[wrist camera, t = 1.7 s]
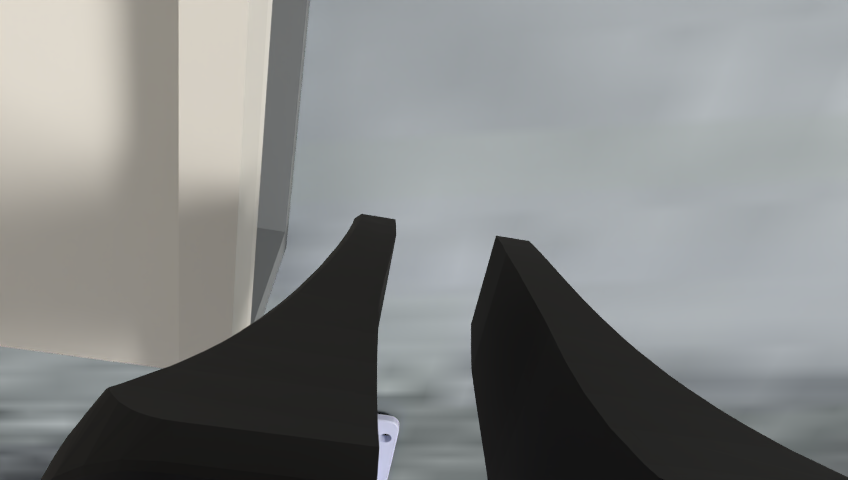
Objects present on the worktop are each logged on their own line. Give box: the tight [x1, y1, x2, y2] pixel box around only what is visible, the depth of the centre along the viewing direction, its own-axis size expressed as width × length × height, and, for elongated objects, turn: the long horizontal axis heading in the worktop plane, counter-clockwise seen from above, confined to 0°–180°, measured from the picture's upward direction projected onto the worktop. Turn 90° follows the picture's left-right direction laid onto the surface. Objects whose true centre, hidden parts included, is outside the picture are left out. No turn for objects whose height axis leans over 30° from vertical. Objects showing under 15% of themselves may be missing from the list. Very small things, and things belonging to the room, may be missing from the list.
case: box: [250, 0, 310, 324], centre depth 17 cm, size 13×13×6 cm
